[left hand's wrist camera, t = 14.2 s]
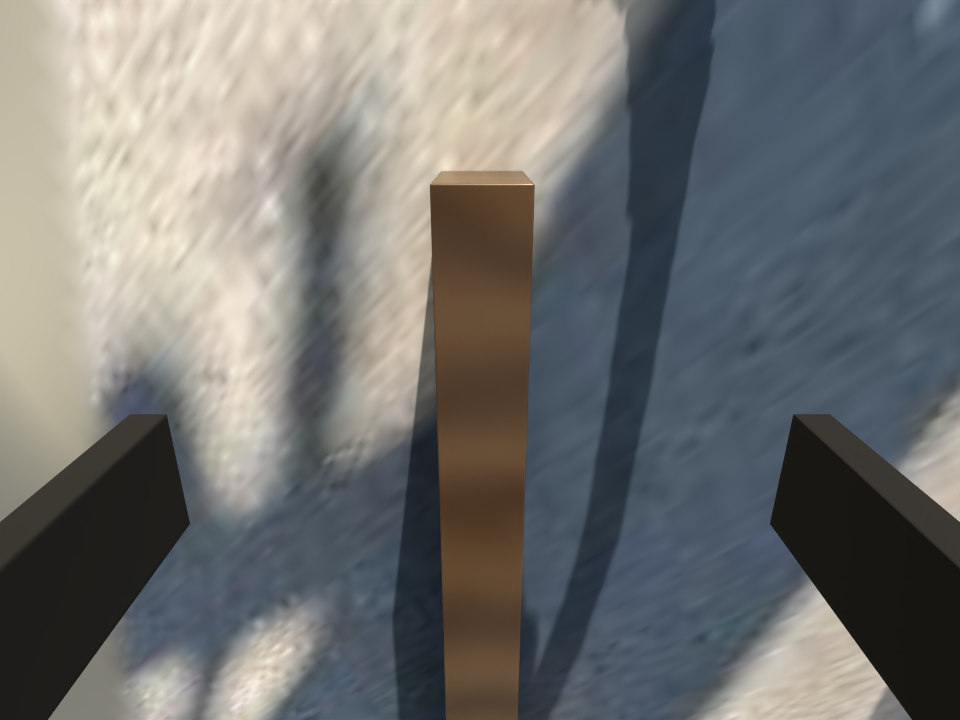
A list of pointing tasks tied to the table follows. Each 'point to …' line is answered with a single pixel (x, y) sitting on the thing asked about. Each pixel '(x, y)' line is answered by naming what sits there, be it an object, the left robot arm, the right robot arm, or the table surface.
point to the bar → (482, 428)
